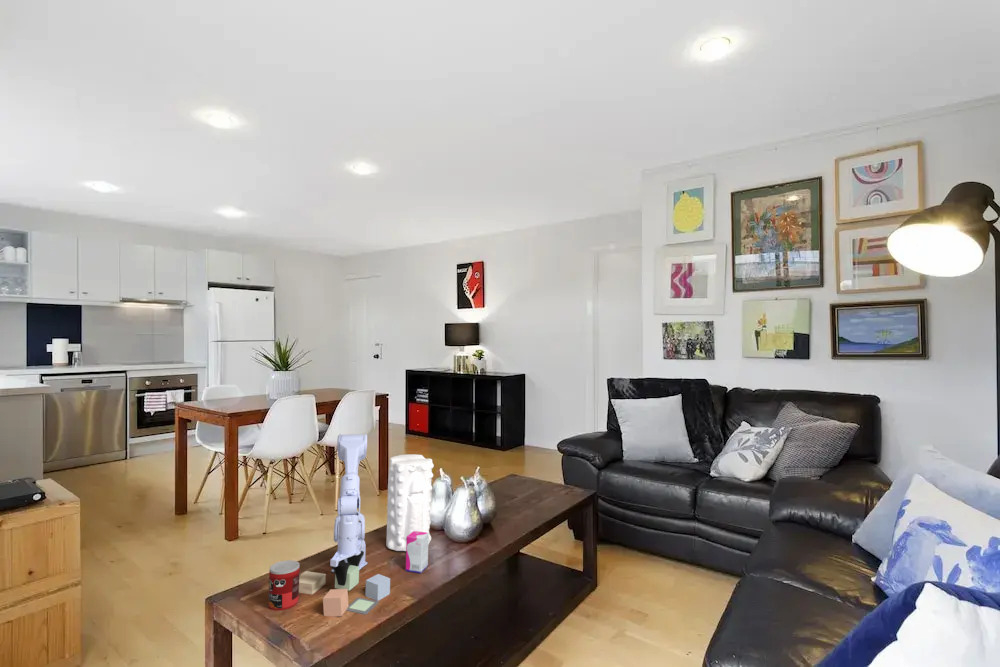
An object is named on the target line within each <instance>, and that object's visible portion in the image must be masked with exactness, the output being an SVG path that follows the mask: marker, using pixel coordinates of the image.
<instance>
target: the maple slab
mask: <svg viewBox="0 0 1000 667" xmlns="http://www.w3.org/2000/svg"><path fill="white" fill-rule="evenodd" d="M326 576H327V574H326V573H322V572H315V571H309V570H305V571H303V572H302V573H301V574H299V594H300V593H301V594H307V595H313V594H315V593H316V592H317V591H318V590H320V589H321V588H322V587H323V586H325V585H326V582H327V581H326V580H327V577H326Z"/></svg>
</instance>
